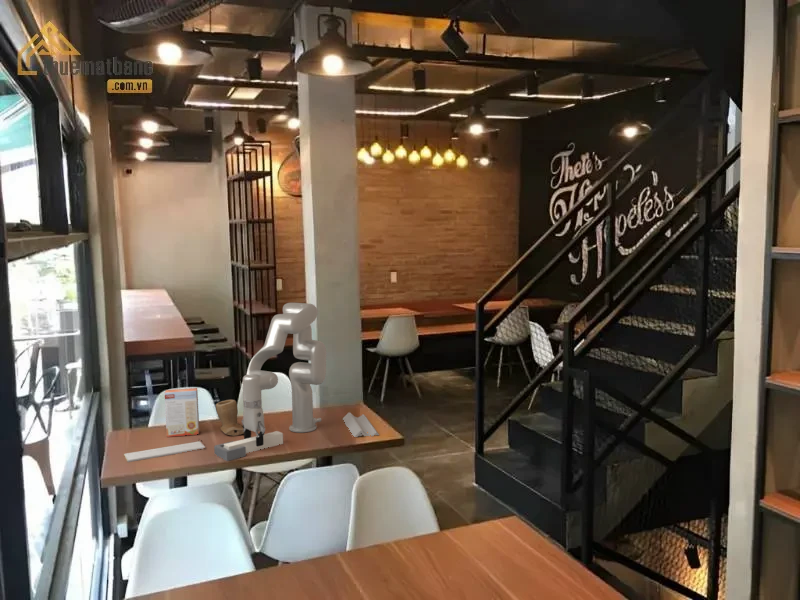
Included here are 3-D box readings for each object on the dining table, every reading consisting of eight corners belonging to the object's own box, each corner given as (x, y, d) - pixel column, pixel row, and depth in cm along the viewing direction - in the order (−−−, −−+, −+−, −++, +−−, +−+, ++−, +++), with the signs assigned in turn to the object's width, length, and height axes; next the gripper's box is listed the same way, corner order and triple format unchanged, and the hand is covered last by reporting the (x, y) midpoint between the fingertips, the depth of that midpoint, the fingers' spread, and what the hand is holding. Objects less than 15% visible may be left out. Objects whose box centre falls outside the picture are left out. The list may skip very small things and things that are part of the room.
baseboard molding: (123, 455, 275) (127, 464, 265) (122, 448, 275) (127, 457, 265) (198, 442, 291) (205, 450, 281) (198, 436, 291) (205, 443, 281)
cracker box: (199, 431, 306) (197, 387, 304) (198, 435, 300) (196, 390, 298) (167, 433, 303) (166, 389, 301) (166, 437, 297) (164, 392, 295)
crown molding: (378, 437, 298) (378, 429, 298) (352, 439, 295) (352, 431, 295) (365, 418, 328) (365, 411, 328) (341, 420, 325) (341, 413, 325)
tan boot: (214, 430, 308) (213, 398, 307) (240, 426, 313) (239, 395, 312) (220, 439, 295) (219, 406, 293) (247, 435, 300) (246, 403, 298)
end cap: (232, 450, 279) (232, 441, 279) (245, 456, 271) (245, 446, 271) (214, 455, 273) (214, 445, 273) (227, 461, 266) (226, 451, 265)
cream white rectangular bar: (277, 442, 291) (277, 431, 290) (283, 444, 288) (282, 433, 287) (224, 455, 273) (223, 444, 273) (229, 458, 270) (229, 446, 269)
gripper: (271, 405, 274) (272, 445, 276) (249, 398, 287) (250, 436, 289) (255, 409, 269) (256, 449, 271) (234, 401, 282) (235, 440, 283)
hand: (253, 442), depth 280 cm, fingers open, 9 cm apart
